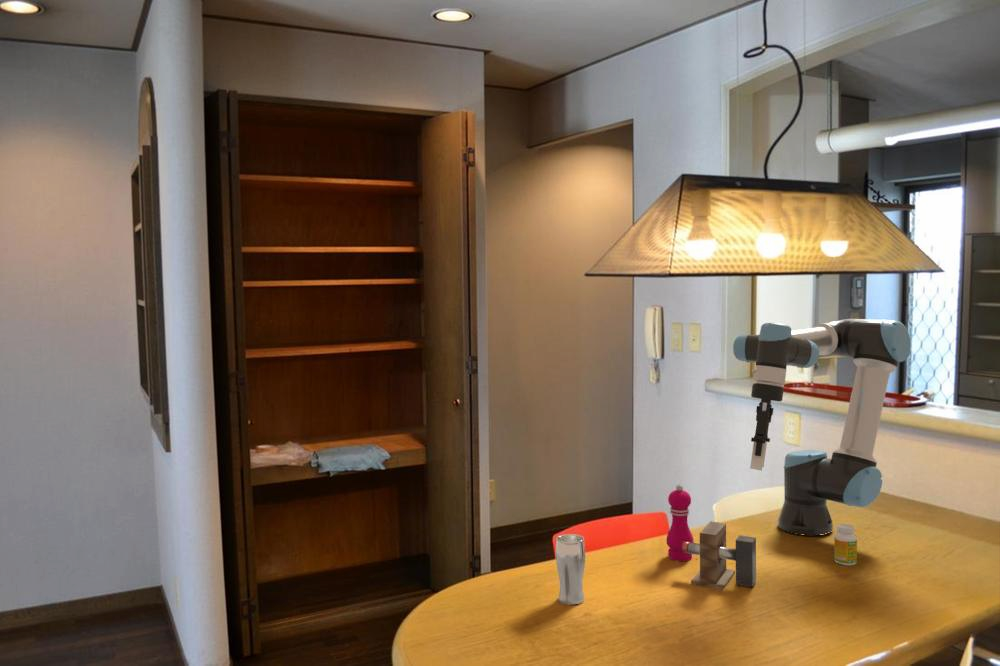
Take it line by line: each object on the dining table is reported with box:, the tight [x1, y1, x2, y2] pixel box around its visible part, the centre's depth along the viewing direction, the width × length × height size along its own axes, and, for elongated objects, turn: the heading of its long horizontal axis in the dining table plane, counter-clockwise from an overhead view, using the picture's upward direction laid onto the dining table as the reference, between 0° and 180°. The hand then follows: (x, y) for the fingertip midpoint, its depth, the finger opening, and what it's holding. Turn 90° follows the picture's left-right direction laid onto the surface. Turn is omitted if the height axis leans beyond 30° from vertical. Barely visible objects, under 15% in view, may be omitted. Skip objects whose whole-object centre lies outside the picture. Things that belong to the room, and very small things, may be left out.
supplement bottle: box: [833, 523, 858, 566], centre depth 205 cm, size 5×5×10 cm
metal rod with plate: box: [682, 535, 757, 588], centre depth 196 cm, size 18×4×11 cm, turn 60°
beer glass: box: [555, 533, 586, 606], centre depth 186 cm, size 7×7×15 cm
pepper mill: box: [665, 484, 695, 562], centre depth 212 cm, size 7×7×20 cm
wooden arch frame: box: [690, 520, 736, 591], centre depth 196 cm, size 8×12×13 cm, turn 150°
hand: (757, 467), depth 197 cm, fingers open, 13 cm apart
